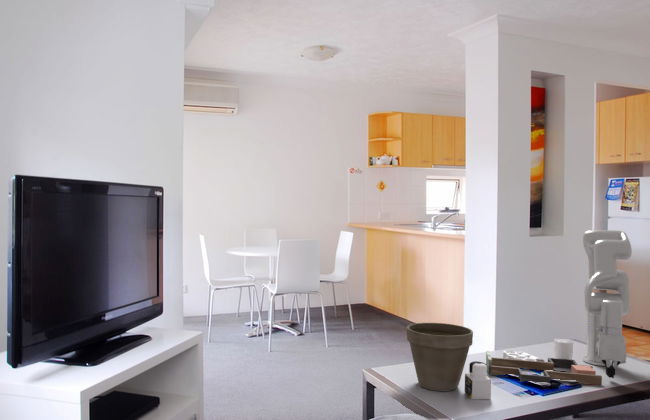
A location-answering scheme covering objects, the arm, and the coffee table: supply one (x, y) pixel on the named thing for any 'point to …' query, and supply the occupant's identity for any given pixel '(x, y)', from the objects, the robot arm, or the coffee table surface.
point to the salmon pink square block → (582, 369)
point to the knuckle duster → (520, 356)
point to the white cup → (563, 348)
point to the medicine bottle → (478, 382)
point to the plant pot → (439, 353)
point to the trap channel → (513, 367)
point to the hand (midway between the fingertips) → (610, 376)
